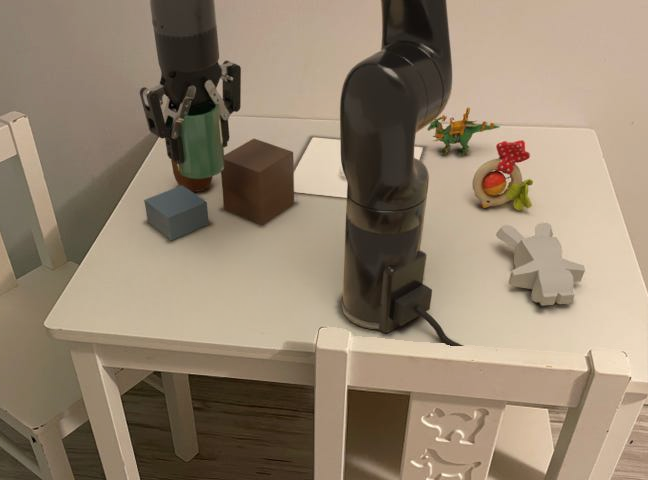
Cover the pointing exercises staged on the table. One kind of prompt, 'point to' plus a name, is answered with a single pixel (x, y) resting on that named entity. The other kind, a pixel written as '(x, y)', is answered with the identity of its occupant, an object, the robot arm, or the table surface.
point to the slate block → (176, 212)
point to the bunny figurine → (541, 265)
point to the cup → (202, 143)
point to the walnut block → (258, 181)
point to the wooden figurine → (190, 180)
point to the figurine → (458, 131)
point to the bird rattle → (503, 178)
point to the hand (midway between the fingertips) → (200, 153)
